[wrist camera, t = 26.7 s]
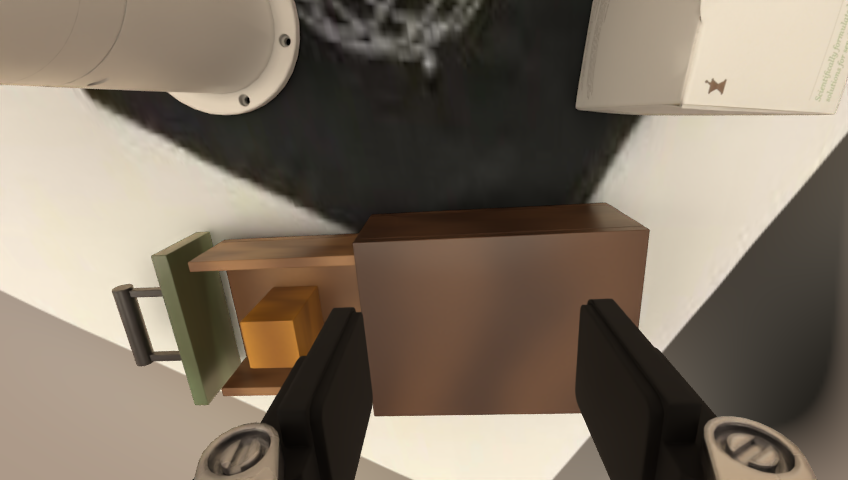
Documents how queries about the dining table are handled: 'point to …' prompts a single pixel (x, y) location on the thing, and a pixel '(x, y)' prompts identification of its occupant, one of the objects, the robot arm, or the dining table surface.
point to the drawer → (249, 282)
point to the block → (282, 326)
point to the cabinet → (489, 303)
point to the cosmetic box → (715, 57)
